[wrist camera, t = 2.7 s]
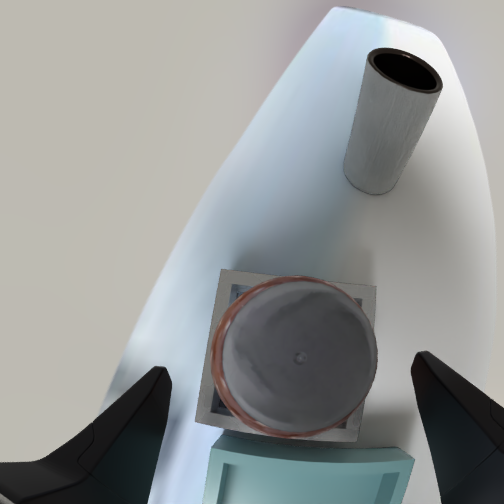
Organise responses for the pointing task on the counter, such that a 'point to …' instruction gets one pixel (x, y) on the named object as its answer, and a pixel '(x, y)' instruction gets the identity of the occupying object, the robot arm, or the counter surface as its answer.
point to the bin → (304, 474)
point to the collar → (208, 394)
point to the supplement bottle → (293, 357)
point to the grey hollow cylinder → (389, 117)
